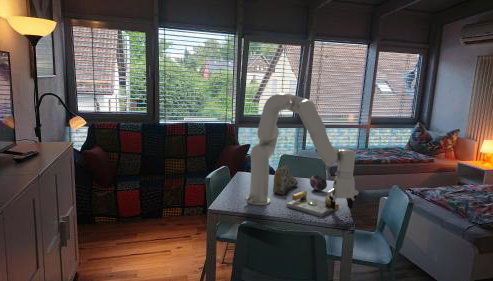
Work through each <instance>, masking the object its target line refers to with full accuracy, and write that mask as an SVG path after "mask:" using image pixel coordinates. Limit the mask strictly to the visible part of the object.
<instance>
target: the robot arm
mask: <svg viewBox="0 0 493 281" xmlns="http://www.w3.org/2000/svg"><path fill="white" fill-rule="evenodd" d="M281 111H291V112H293V113H296V114H298V115H299V116H298V117H299V118H300V120H301V121H302V124H303V125H304V127H305V128H306V130H307V132H308V134H309V136H310V140H311V141H312V144H313V146H314V148H315V150H316V153H318V156H319V157H320V159H321V161H322V162H323V163H324V164H325V165H329V166H331V165H334V164H335V163H337V169H336V170H337V171H336V172H334V175H335V178H334V180H333V185H332V189H330V190H327V192H326V195H327V197H329V199H330V200H331V203H330V207H331V208H332V209H333V210H334V209H335V204H336V203H337V202H336V200H337V199H348V200H347V208H349V209H350V210H351V209H353V206H354V205H353V204H354V201H355V199H356V198H357V197H358V195H359V190H357V189H356V188H355V187H356V182H355V177H354V170H355V159H356V151H355V150H353V149H350V148H349V149H348V148H339V147H337V146H335V147H334V146H333V144H332V143H331V141H330V139H329V137H328V133H327V128H326V126H325V123H324V121H323V119H322V118H321V117H320V114H319V112H318V110H317V106H316V104H315V102H314V101H312V100H311V99H307V98H303V97H300V96H298V95H294V94H292V93H286V92H280V93H276V94H273V95H271V96H270V97H269V98H267V100H266V101H265V103H264V105H263V108H262V112H261V116H260V120H259V123H258V128H257V134H256V135H257V138H258V139H259V140H258V143H257V144H255V145H253V147H252V149H251V150H250V168H251V169H250V185H249V186H250V188H249V194H248V196H247V197H245V198H244V201H245V202H247V203H248V204H251V205H255V206H265V205H267V206H268V205H270V203H271V199H270V198H269V197H268V196H269V180H270V162H269V161H270V158H271V157H273V155H274V153H275V150H276V146H277V142H278V138H279V134H280V133H279V131H280V130H279V127H278V126H277V123H278V119H279V114H280V112H281ZM334 211H335V210H334Z"/></svg>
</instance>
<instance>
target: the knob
mask: <svg viewBox="0 0 493 281" xmlns="http://www.w3.org/2000/svg"><path fill="white" fill-rule="evenodd" d="M324 202H325V205H326V206H330V203H331V200H330V199H329V197H328V196H327V197H325V200H324ZM339 208H340V204H339V203H338V202H336V204H335V210H334V211H336V210H339Z"/></svg>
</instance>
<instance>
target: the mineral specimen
mask: <svg viewBox="0 0 493 281" xmlns="http://www.w3.org/2000/svg"><path fill="white" fill-rule="evenodd" d="M309 184H310V187H311V188H312V189H313V190H315V191H323V190H325V189H326V188H327V187H328V182H327V179H326V177H325V176H324V175H323V174H318V173H317V174H315V175H312V176H311V177H310V178H309Z"/></svg>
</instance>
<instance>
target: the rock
mask: <svg viewBox="0 0 493 281" xmlns="http://www.w3.org/2000/svg"><path fill="white" fill-rule="evenodd" d="M298 183H299V182H298V180H297V179H296V177H294V176H293V175H292V172H291V170H290V167H289V165H287V164H283V165H282V166H281V167H279V168H276V169H275V173H274V177H273V188H272V193H273V194H275V193H276V194H278V195H281V196H287V195H288V192H289V190H290V189H291V188H293V187H294V186H298Z"/></svg>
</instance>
